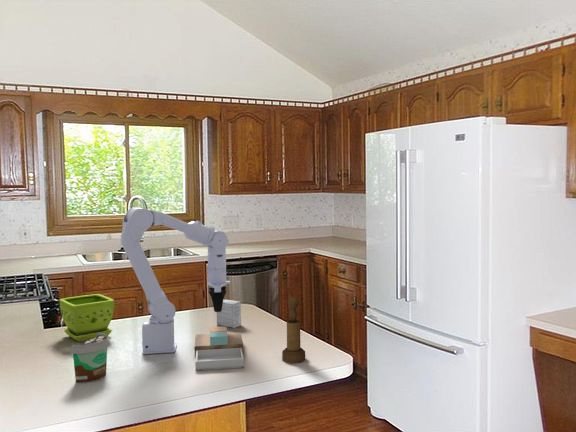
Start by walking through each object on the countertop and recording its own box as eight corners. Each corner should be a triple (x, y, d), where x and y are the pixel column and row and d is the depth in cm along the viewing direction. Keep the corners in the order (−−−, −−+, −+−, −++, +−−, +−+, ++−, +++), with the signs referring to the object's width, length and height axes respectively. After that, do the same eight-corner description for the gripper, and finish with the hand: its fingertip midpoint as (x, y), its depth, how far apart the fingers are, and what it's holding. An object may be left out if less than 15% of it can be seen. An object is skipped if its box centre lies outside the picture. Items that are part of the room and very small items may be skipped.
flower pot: (73, 345, 163) (72, 305, 163) (59, 336, 174) (57, 298, 173) (116, 336, 173) (115, 298, 172) (100, 328, 183) (99, 292, 182)
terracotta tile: (210, 339, 156) (210, 331, 156) (210, 335, 161) (210, 327, 161) (227, 339, 157) (226, 330, 156) (226, 334, 161) (226, 326, 161)
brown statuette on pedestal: (288, 364, 144) (288, 300, 143) (278, 358, 149) (277, 296, 148) (309, 360, 147) (309, 297, 146) (298, 354, 152) (297, 293, 151)
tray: (195, 370, 140) (195, 361, 140) (196, 358, 149) (196, 350, 149) (243, 367, 142) (243, 358, 142) (241, 356, 151) (241, 347, 151)
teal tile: (210, 345, 150) (210, 337, 150) (210, 340, 155) (210, 332, 155) (227, 344, 151) (227, 336, 151) (227, 339, 156) (226, 331, 156)
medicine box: (241, 325, 185) (241, 301, 184) (233, 328, 181) (233, 303, 181) (224, 322, 189) (223, 299, 189) (216, 325, 185) (215, 301, 185)
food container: (94, 386, 130) (93, 346, 129) (72, 384, 131) (70, 345, 130) (119, 369, 142) (118, 333, 141) (99, 367, 143) (98, 331, 142)
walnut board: (194, 358, 150) (194, 346, 150) (195, 345, 162) (195, 334, 162) (243, 355, 152) (243, 343, 152) (241, 343, 164) (240, 332, 164)
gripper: (230, 271, 159) (231, 315, 160) (228, 264, 173) (229, 304, 174) (207, 272, 158) (208, 316, 159) (207, 265, 172) (208, 305, 173)
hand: (217, 310), depth 166 cm, fingers open, 3 cm apart
